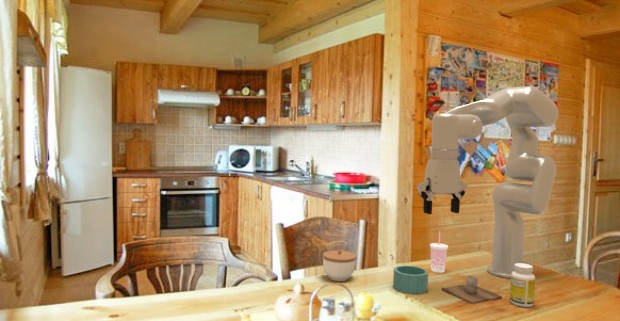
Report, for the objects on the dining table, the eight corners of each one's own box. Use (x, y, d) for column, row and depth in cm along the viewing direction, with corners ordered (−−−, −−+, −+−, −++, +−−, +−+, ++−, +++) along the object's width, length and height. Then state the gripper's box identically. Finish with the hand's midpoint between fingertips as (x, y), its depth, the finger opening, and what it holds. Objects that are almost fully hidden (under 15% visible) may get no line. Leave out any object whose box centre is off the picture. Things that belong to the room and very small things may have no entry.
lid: (470, 287, 141) (471, 269, 141) (501, 300, 130) (503, 281, 130) (441, 291, 136) (442, 273, 135) (471, 306, 125) (472, 286, 124)
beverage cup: (449, 273, 152) (451, 233, 152) (430, 272, 153) (432, 232, 152) (444, 268, 158) (446, 229, 158) (427, 267, 159) (429, 228, 158)
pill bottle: (528, 300, 129) (530, 262, 129) (537, 308, 123) (539, 269, 122) (506, 298, 130) (508, 261, 129) (514, 306, 124) (516, 267, 123)
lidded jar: (331, 271, 151) (332, 243, 151) (360, 277, 146) (361, 248, 145) (316, 279, 142) (317, 250, 141) (346, 286, 136) (347, 256, 136)
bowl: (412, 281, 143) (413, 264, 143) (433, 291, 134) (434, 273, 134) (386, 284, 139) (387, 267, 138) (407, 295, 130) (408, 277, 130)
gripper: (459, 155, 138) (457, 210, 139) (411, 154, 132) (409, 211, 133) (476, 156, 131) (473, 214, 132) (426, 156, 125) (424, 216, 126)
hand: (441, 213), depth 132 cm, fingers open, 9 cm apart
